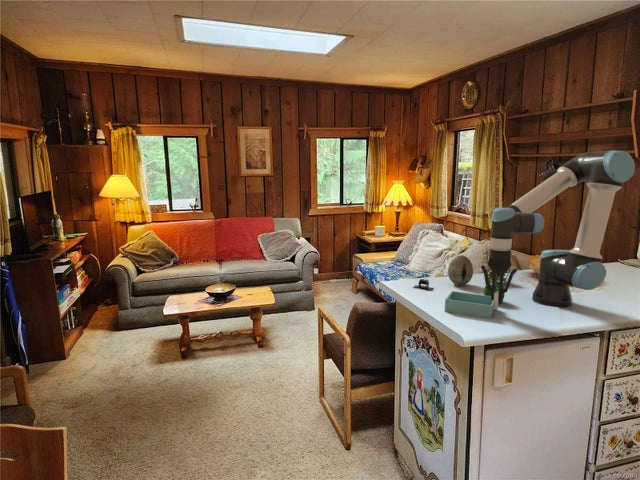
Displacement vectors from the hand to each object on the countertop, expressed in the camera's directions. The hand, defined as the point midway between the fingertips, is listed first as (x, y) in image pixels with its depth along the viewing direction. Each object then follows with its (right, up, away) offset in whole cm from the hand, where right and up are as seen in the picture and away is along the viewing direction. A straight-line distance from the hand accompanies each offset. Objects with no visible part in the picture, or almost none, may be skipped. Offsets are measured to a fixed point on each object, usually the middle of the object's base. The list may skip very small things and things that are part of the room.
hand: (495, 308), depth 161 cm
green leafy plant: (+22, +4, +49) cm, 54 cm away
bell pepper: (+6, -1, +16) cm, 17 cm away
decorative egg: (+1, +4, +45) cm, 45 cm away
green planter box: (-8, -1, +5) cm, 10 cm away
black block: (-18, +3, +40) cm, 44 cm away
